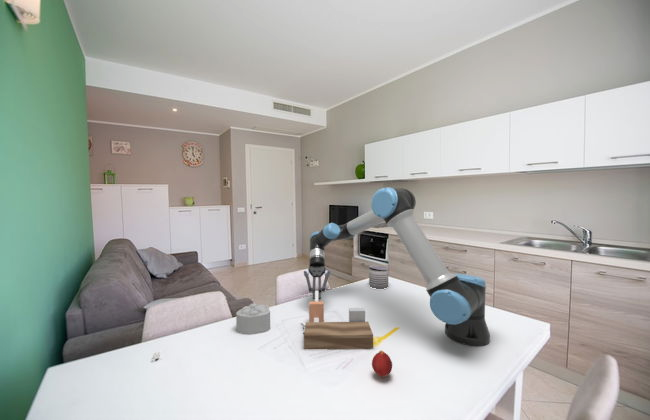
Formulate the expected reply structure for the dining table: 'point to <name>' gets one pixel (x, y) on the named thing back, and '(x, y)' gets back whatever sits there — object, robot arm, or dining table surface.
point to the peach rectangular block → (316, 311)
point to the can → (378, 277)
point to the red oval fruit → (382, 364)
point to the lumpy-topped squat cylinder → (253, 319)
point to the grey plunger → (356, 315)
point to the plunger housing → (338, 335)
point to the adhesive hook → (156, 356)
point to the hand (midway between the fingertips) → (316, 305)
